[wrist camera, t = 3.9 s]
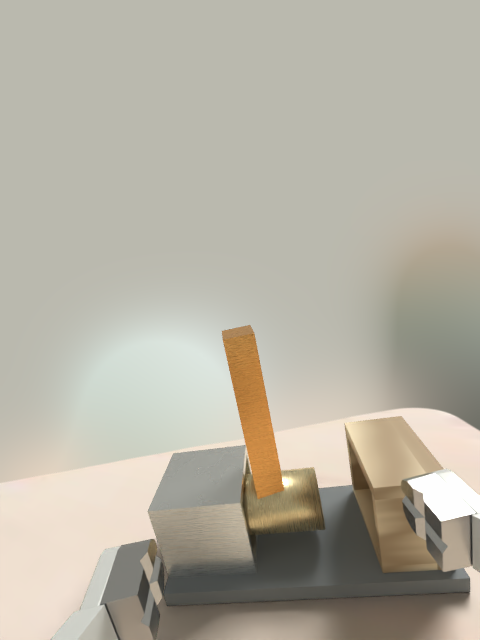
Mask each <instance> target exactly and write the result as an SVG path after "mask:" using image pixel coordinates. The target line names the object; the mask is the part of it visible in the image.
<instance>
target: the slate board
mask: <svg viewBox="0 0 480 640" xmlns="http://www.w3.org/2000/svg"><path fill="white" fill-rule="evenodd" d="M318 489H319V494H320V499H321V505H322V510H323V516H324V522H325V530H315V531H302V532H288V533H275V534H262V535H258V540H257V573H250V574H233V575H216V576H199V577H182V578H169V576H168V580H167V583H166V586H165V590H164V593H163V595H164V598H165V601H166V604H167V606H176V605H198V604H219V603H241V602H263V601H284V600H306V599H327V598H349V597H371V596H392V595H414V594H436V593H457V592H470V577H469V576H468V574H467V573H466V571H465V569H464V568H460V569H456V570H451V571H446V572H443V571H442V570H429V571H411V572H393V573H383V572H382V569H381V566H380V563H379V561H378V558H377V555H376V552H375V550H374V547H373V544H372V541H371V538H370V536H369V533H368V530H367V527H366V525H365V522H364V519H363V516H362V513H361V511H360V508H359V505H358V502H357V500H356V497H355V494H354V491H353V485H349V486H338V487H328V488H318Z"/></svg>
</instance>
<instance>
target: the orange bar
mask: <svg viewBox="0 0 480 640" xmlns="http://www.w3.org/2000/svg"><path fill="white" fill-rule="evenodd" d="M222 335H223V342H224V347H225V352H226V356H227V361H228V365H229V370H230V374H231V379H232V383H233V388H234V392H235V397H236V402H237V406H238V410H239V415H240V420H241V425H242V429H243V434H244V438H245V443H246V448H247V452H248V457H249V461H250V466H251V470H252V474H245V479H244V490H243V501H242V506H243V510H244V514H245V518H246V523H247V527H248V531H249V535H262V534H275V533H288V532H302V531H315V530H325V522H324V516H323V510H322V505H321V499H320V494H319V489H318V484H317V479H316V474H315V470H314V467H311V468H302V469H292V470H282V471H281V469H280V464H279V459H278V454H277V449H276V443H275V438H274V433H273V428H272V423H271V418H270V412H269V408H268V402H267V397H266V391H265V386H264V381H263V376H262V371H261V365H260V360H259V355H258V350H257V345H256V339H255V335H254V332H253V330H252V328H251V326H250V325H248V326H244V327H239V328H234V329H229V330H225V331H222Z"/></svg>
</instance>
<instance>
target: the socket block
mask: <svg viewBox="0 0 480 640" xmlns="http://www.w3.org/2000/svg"><path fill="white" fill-rule="evenodd" d="M345 431H346V439H347V446H348V454H349V462H350V470H351V477H352V485H353V491H354V494H355V497H356V500H357V502H358V505H359V508H360V511H361V513H362V516H363V519H364V522H365V525H366V527H367V530H368V533H369V536H370V538H371V541H372V544H373V547H374V550H375V552H376V555H377V558H378V561H379V563H380V566H381V569H382V572H383V573H393V572H411V571H429V570H442V569H441V568H440V567H439V565H438V564H437V562H436V561H435V560H434V558H433V557H432V556H431V554H430V553H429V552H428V550H427V546H426V540H424V539H422V538H421V537H419V536H417V535H416V534H415V532H414V531H413V529H412V528H411V526H410V525H409V523H408V521H407V519H406V516H405V513H404V511H403V504H402V500H403V499H404V497H405V494H404V493H403V491H402V490H401V481H402V479H406V478H410V477H414V476H418V475H422V474H426V473H431V472H435V471H439V470H443V467H442V466H441V465H440V464H439V462H438V461H437V460H436V459H435V457H434V456H433V455H432V454H431V452H430V451H429V450H428V449H427V447H426V446H425V445H424V444H423V442H422V441H421V440H420V439H419V437H418V436H417V435H416V434H415V432H414V431H413V430H412V429H411V428H410V426H409V425H408V424H407V423H406V421H405V420H404V419H403V418H402V416H399V417H390V418H382V419H374V420H365V421H357V422H349V423H345Z"/></svg>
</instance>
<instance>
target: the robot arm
mask: <svg viewBox="0 0 480 640" xmlns="http://www.w3.org/2000/svg"><path fill="white" fill-rule="evenodd" d="M401 490H402V491H403V493H404V494H405V497H404V499H403V500H402V504H403V511H404V513H405V516H406V519H407V521H408V523H409V525H410V526H411V528H412V529H413V531H414V532H415V534H416V535H417V536H419V537H421V538H422V539H424V540H426V546H427V550H428V552H429V553H430V554H431V556H432V557H433V558H434V560H435V561H436V562H437V564H438V565H439V567H440V568H441V569H442V571H443V572H446V571H451V570H456V569H460V568H465V567H470V566H473V568H474V569H475V570H477V571H478V572H480V496H479V495H478V494H477V493H475V492H474V491H473V490H472V489H471V488H470V487H469V486H468V485H466V484H465V483H464V482H463V481H462V480H461V479H460V478H459V477H458V476H456V475H455V474H454V473H453V472H452V471H451V470H449V469H443V470H439V471H435V472H431V473H426V474H422V475H418V476H414V477H410V478H406V479H402V481H401ZM156 553H157V545H156V542H155V540H154V539H150V540H145V541H140V542H136V543H131V544H126V545H121V546H118V547H113V548H108V549H105V550H104V551H103V553H102V554H101V556H100V558H99V561H98V563H97V566H96V569H95V571H94V574H93V576H92V579H91V582H90V584H89V587H88V589H87V592H86V595H85V597H84V600H83V602H82V605H81V608H80V610H79V611H75V612H74V613H73V614H72V615H71V616H70V617H69V618H68V620H67V621H66V622H65V623H64V624H63V626H62V627H61V628H60V629H59V630H58V631H57V633H56V634H55V635H54V636H53V637H52V638H51V640H156V637H157V630H158V624H159V618H160V614H159V611H158V608H157V605H158V604H159V602H160V601H161V599H162V597H163V591H164V568H163V564H162V560H161V558H159V557H158V556H156Z"/></svg>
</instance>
